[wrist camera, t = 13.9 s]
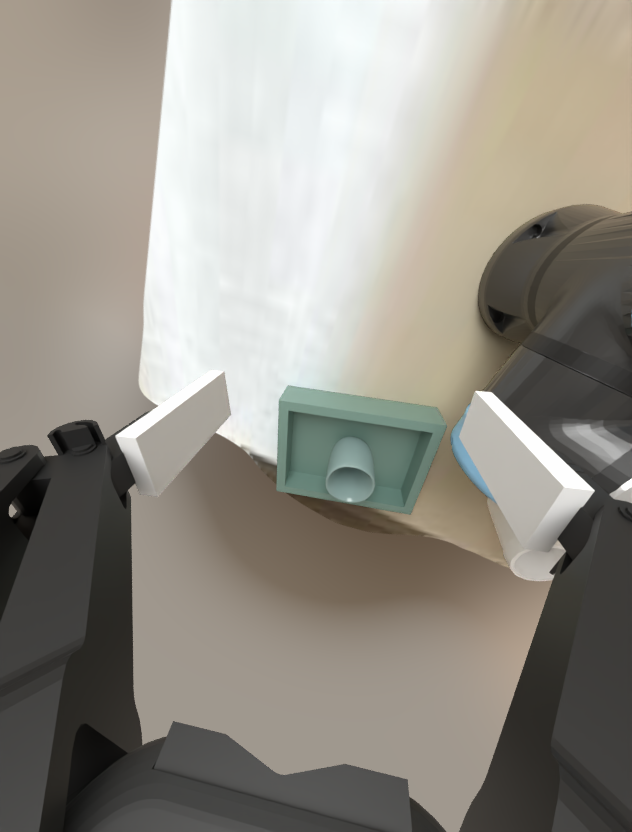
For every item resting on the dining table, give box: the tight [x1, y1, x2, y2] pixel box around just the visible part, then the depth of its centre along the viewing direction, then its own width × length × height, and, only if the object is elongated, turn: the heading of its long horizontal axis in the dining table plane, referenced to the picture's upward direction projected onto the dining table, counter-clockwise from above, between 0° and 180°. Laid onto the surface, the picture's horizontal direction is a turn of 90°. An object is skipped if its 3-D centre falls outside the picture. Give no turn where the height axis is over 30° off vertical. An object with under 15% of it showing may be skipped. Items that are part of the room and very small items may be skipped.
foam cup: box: [487, 498, 566, 581], centre depth 47 cm, size 10×9×13 cm
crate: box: [277, 386, 447, 515], centre depth 48 cm, size 26×20×6 cm
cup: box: [325, 436, 375, 503], centre depth 45 cm, size 8×8×10 cm
